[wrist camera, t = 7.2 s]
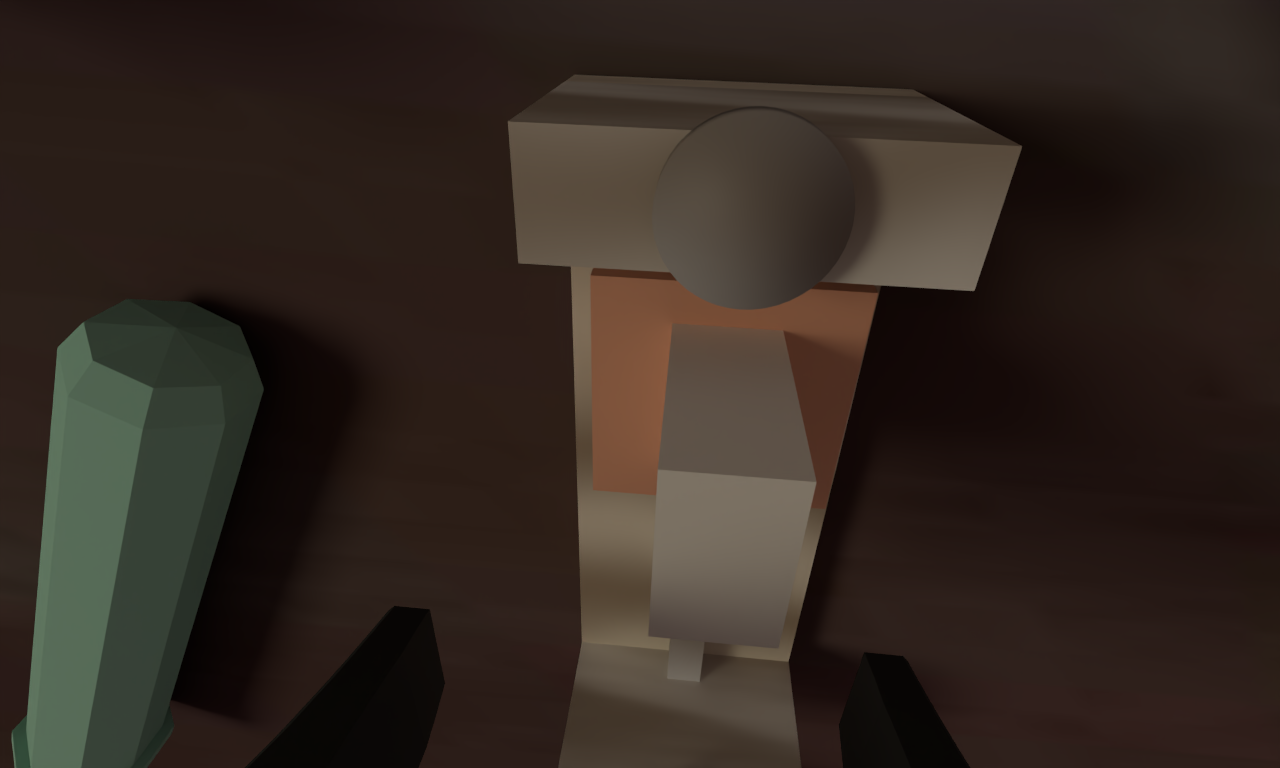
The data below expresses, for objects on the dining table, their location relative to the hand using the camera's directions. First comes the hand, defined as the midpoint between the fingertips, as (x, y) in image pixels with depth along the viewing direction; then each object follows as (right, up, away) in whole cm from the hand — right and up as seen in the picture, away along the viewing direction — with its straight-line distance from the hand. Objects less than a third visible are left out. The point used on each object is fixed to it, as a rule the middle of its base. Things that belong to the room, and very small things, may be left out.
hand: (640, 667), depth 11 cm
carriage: (+2, +6, +7) cm, 9 cm away
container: (-19, -1, +16) cm, 25 cm away
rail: (+2, +2, +10) cm, 11 cm away
